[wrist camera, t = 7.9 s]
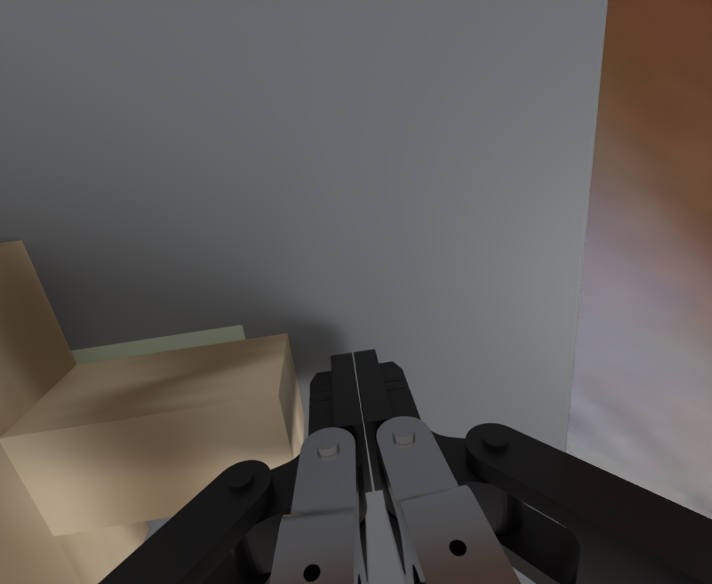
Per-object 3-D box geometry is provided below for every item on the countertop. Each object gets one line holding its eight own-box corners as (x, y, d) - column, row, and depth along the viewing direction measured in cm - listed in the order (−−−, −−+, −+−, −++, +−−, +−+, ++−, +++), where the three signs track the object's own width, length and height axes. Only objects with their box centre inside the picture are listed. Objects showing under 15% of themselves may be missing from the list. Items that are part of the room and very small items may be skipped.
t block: (261, 207, 12) (241, 233, 9) (321, 499, 16) (322, 589, 13) (-103, 256, 11) (-272, 303, 8) (60, 543, 16) (-6, 648, 13)
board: (603, -171, 10) (625, -196, 9) (544, 563, 20) (553, 580, 20) (-405, -67, 9) (-470, -85, 8) (70, 651, 19) (60, 671, 19)
